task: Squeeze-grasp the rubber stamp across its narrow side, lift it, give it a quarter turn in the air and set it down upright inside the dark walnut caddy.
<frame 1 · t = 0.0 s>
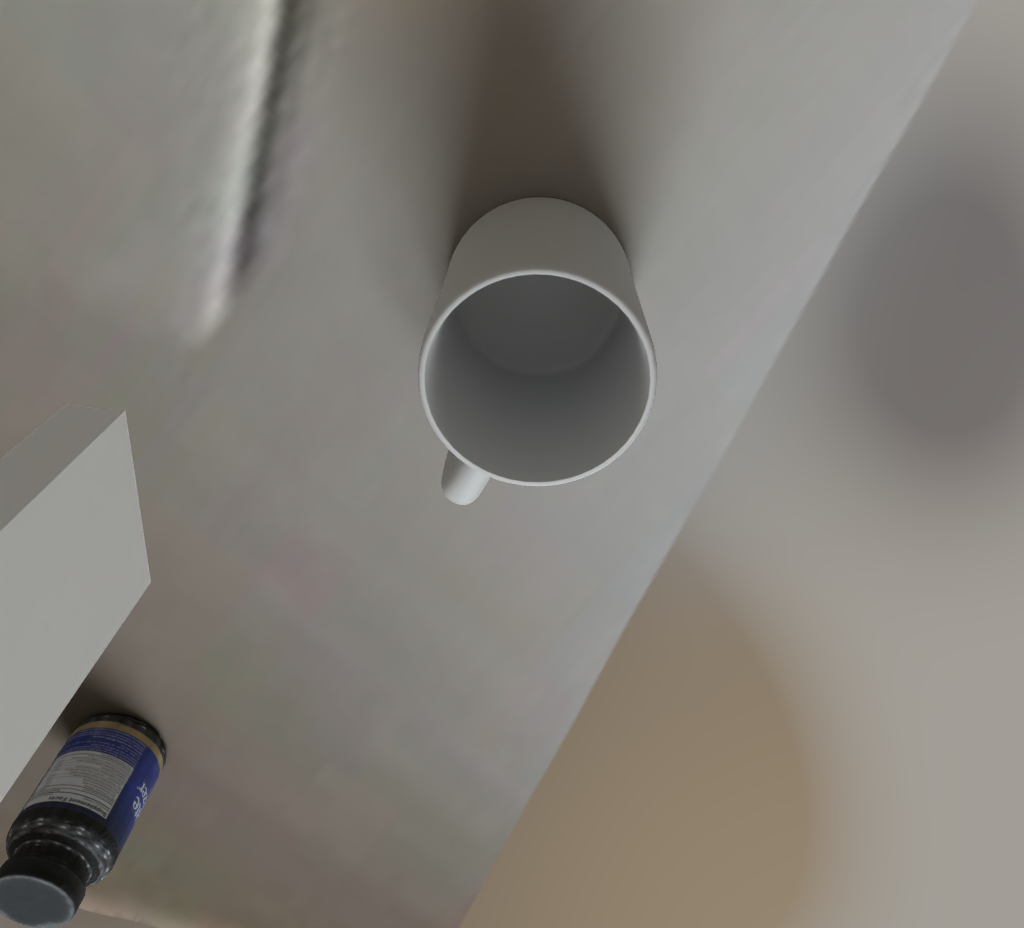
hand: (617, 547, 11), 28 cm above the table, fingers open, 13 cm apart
pill bottle: (123, 741, 54), on the table
mug: (521, 319, 39), on the table
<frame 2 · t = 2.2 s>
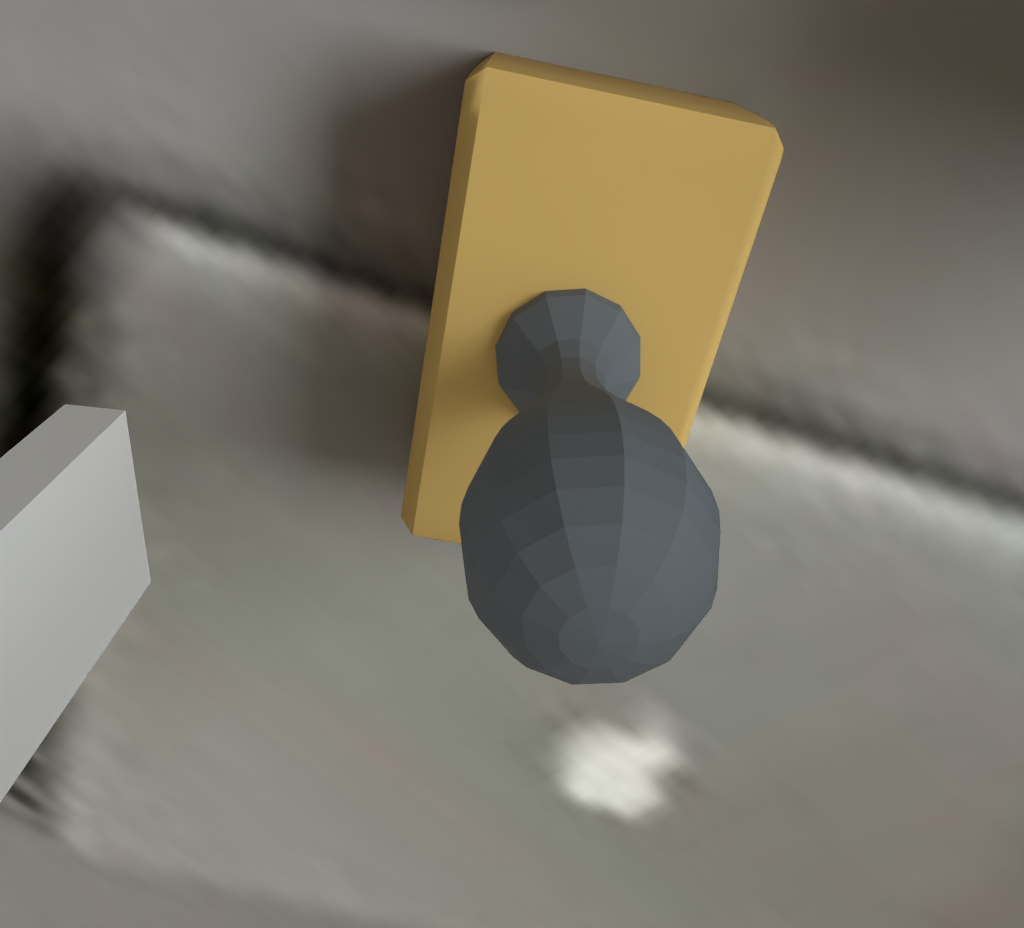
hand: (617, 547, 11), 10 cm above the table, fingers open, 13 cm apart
rubber stamp: (562, 299, 20), on the table
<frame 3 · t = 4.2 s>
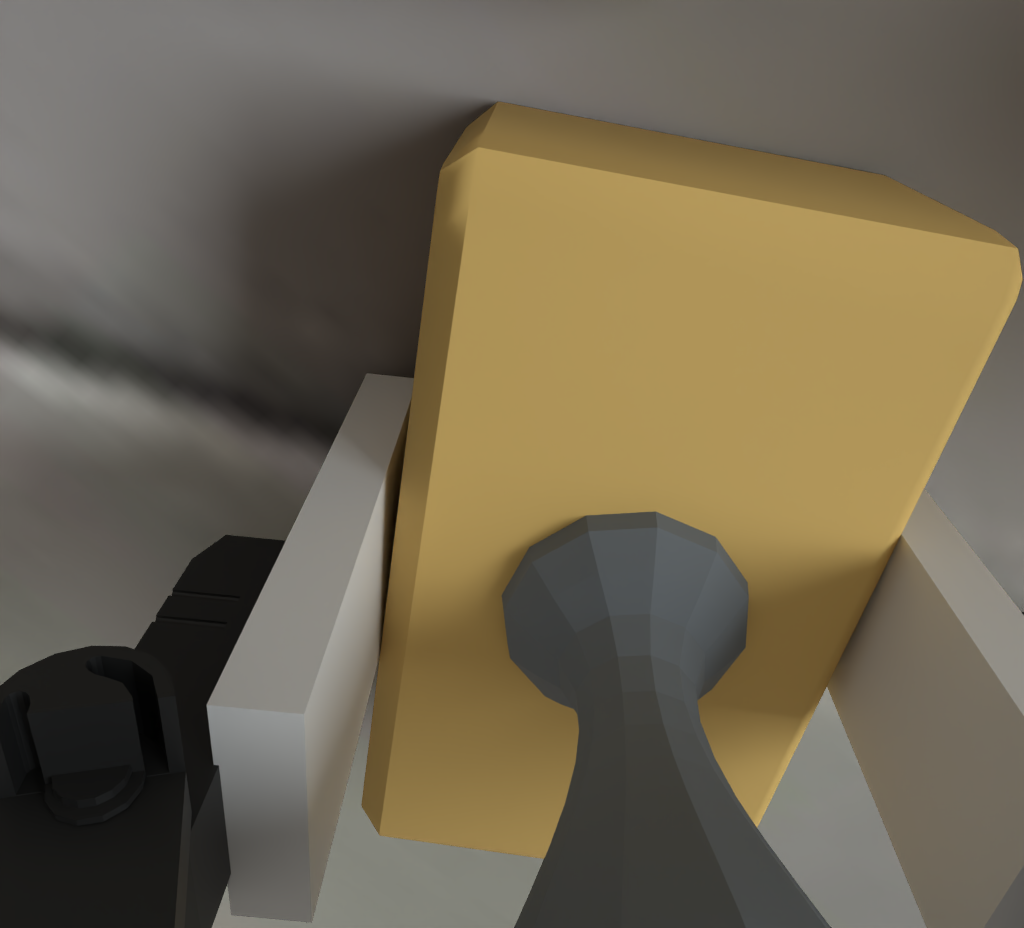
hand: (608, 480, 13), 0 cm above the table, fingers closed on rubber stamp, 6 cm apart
rubber stamp: (605, 459, 13), on the table, touching gripper
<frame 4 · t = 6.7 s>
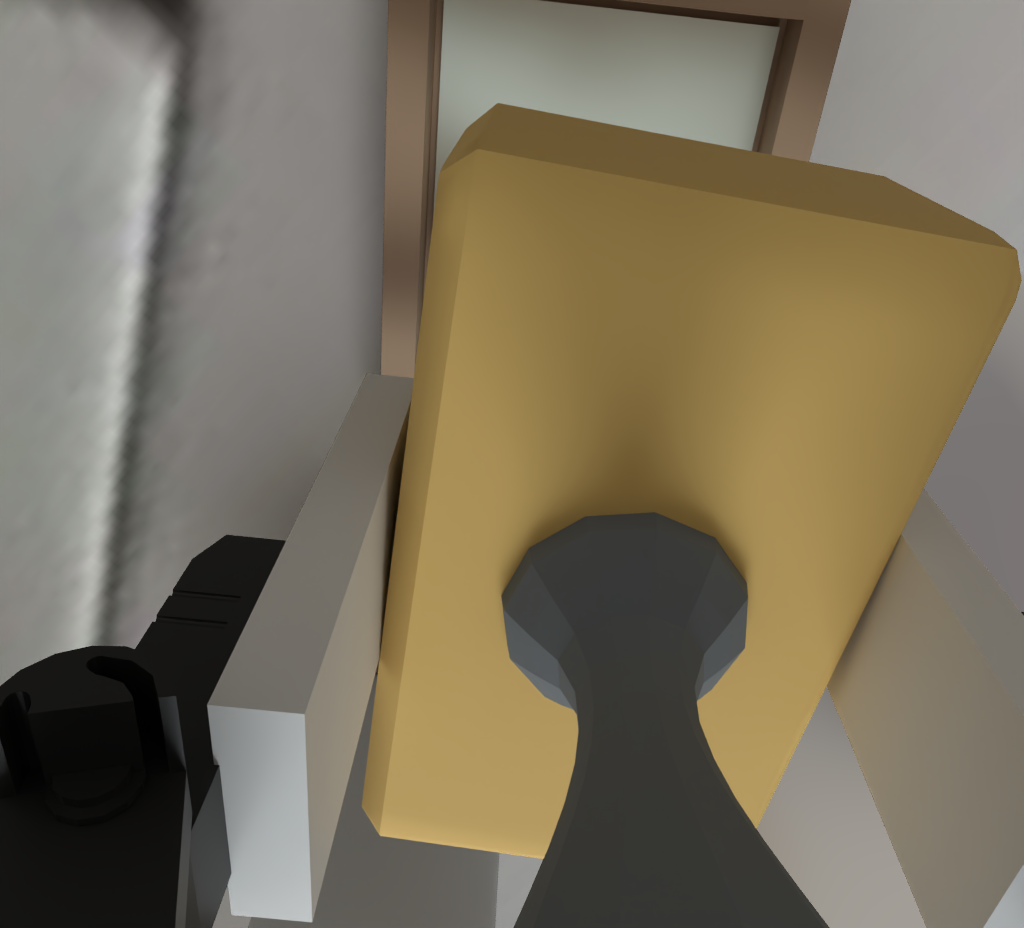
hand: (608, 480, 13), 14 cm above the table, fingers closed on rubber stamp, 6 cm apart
rubber stamp: (605, 460, 13), point 14 cm above the table, touching gripper
mug: (394, 762, 37), on the table
caddy: (577, 243, 25), on the table
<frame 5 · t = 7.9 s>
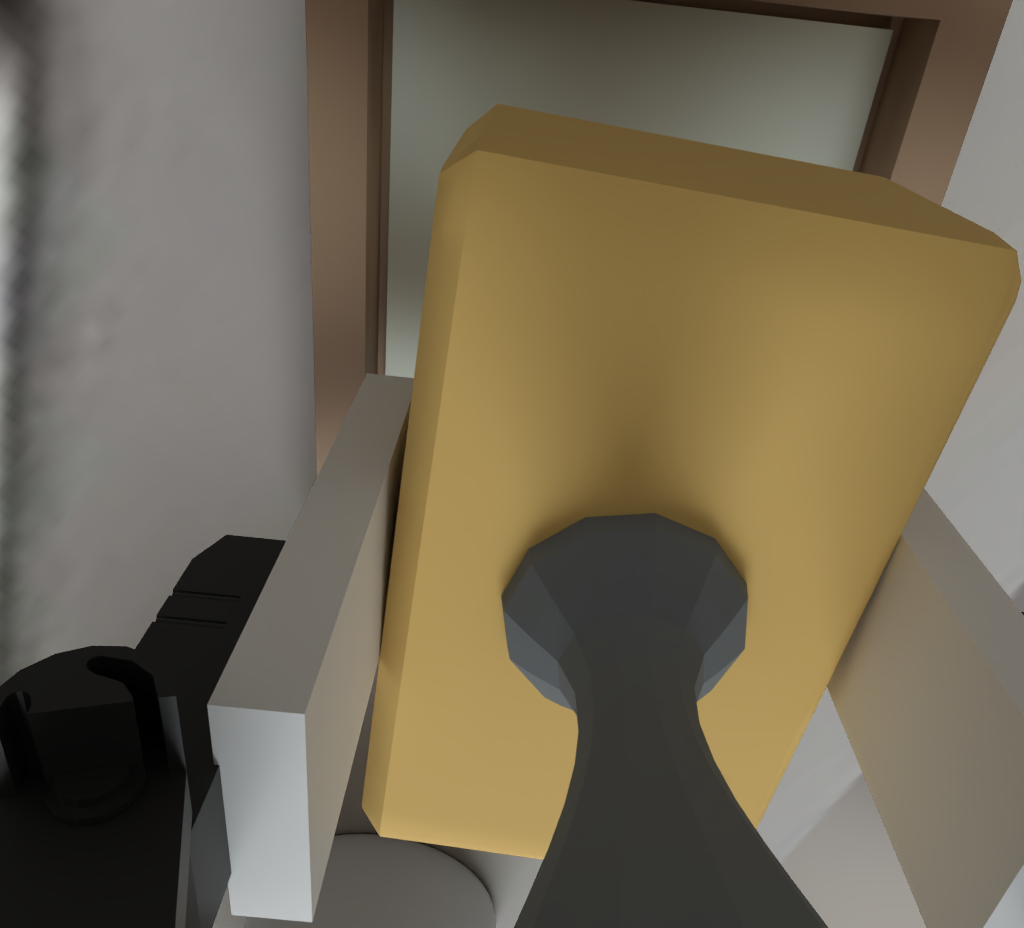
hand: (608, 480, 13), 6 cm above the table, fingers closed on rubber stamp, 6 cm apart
rubber stamp: (605, 460, 13), point 6 cm above the table, touching gripper
mug: (360, 926, 30), on the table
caddy: (589, 326, 18), on the table
when the fingers open (4 cm above the table, at t = 9.2 s): rubber stamp drops 2 cm, resting on caddy.
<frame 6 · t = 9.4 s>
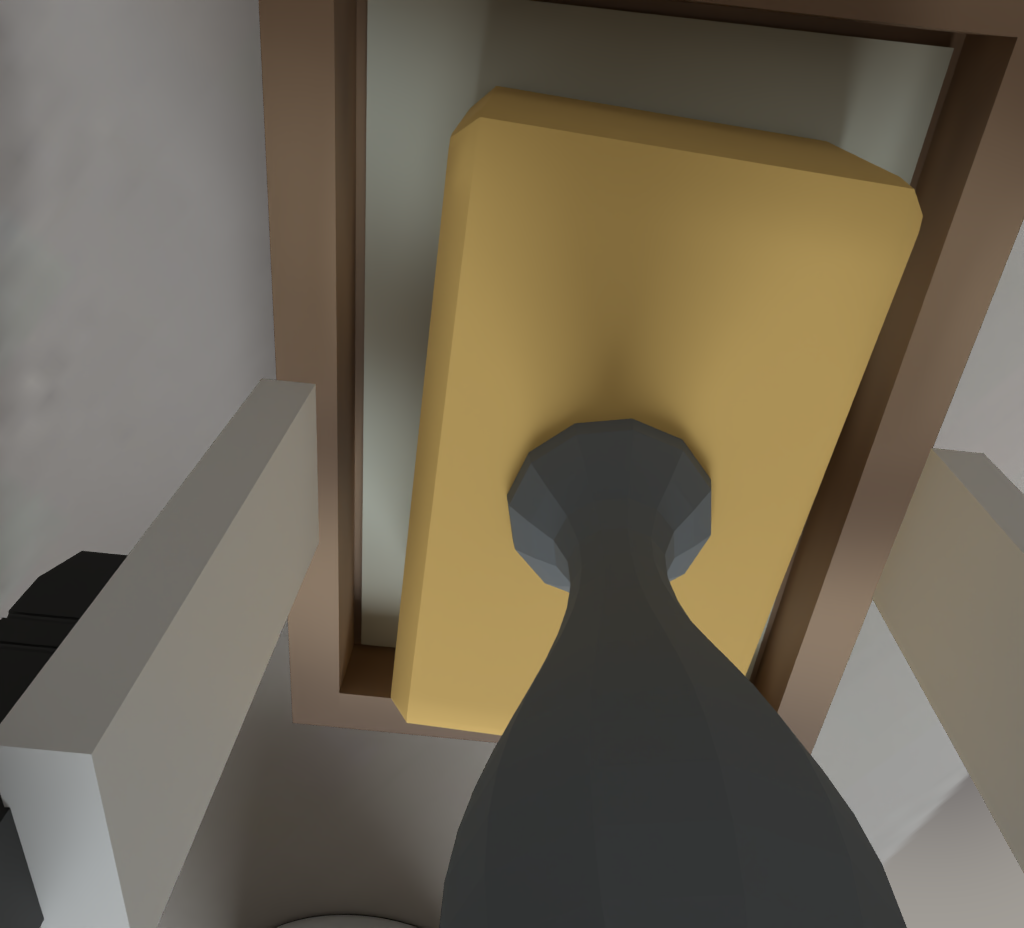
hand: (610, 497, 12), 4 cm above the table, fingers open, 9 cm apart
rubber stamp: (596, 398, 15), point 1 cm above the table, touching caddy
caddy: (594, 379, 16), on the table
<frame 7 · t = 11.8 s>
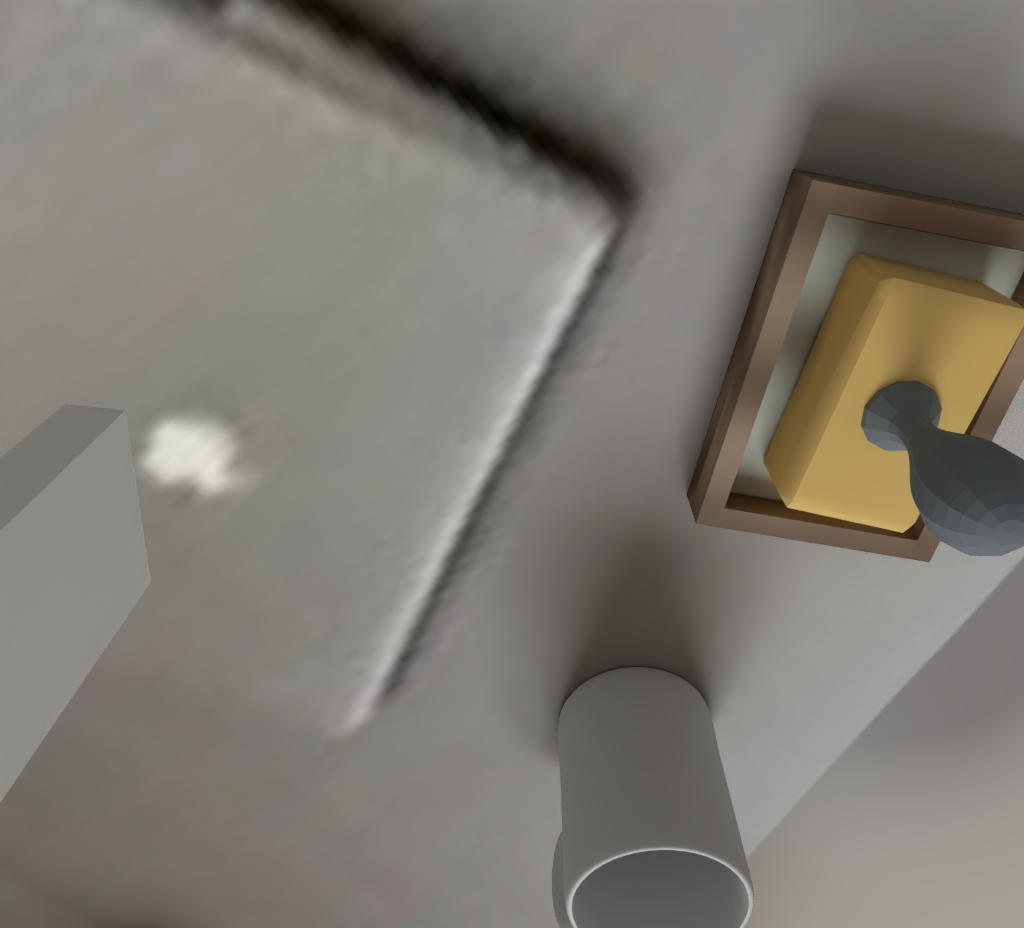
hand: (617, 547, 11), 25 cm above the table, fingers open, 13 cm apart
rubber stamp: (864, 378, 35), point 1 cm above the table, touching caddy
mug: (615, 738, 47), on the table
caddy: (856, 370, 36), on the table
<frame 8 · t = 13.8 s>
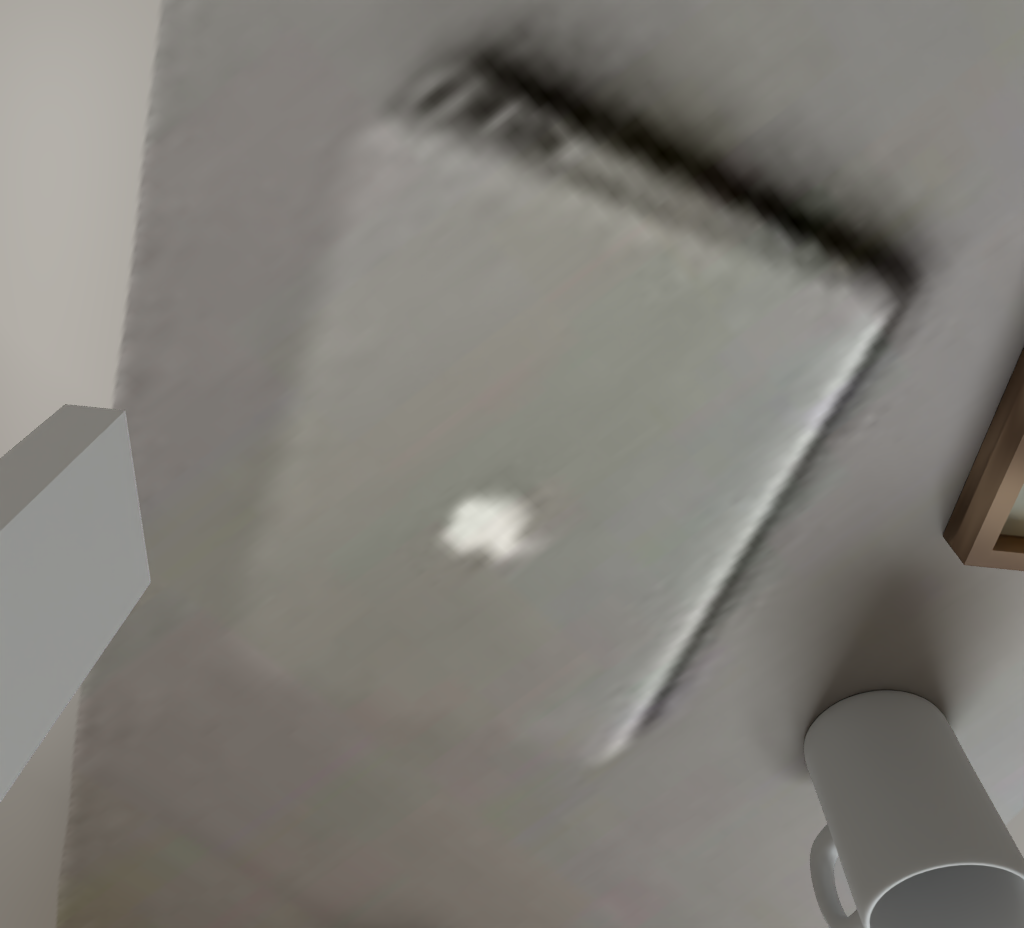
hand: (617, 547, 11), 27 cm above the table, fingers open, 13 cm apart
mug: (854, 754, 51), on the table
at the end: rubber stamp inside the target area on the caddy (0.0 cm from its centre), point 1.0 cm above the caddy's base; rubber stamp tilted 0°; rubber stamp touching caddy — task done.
